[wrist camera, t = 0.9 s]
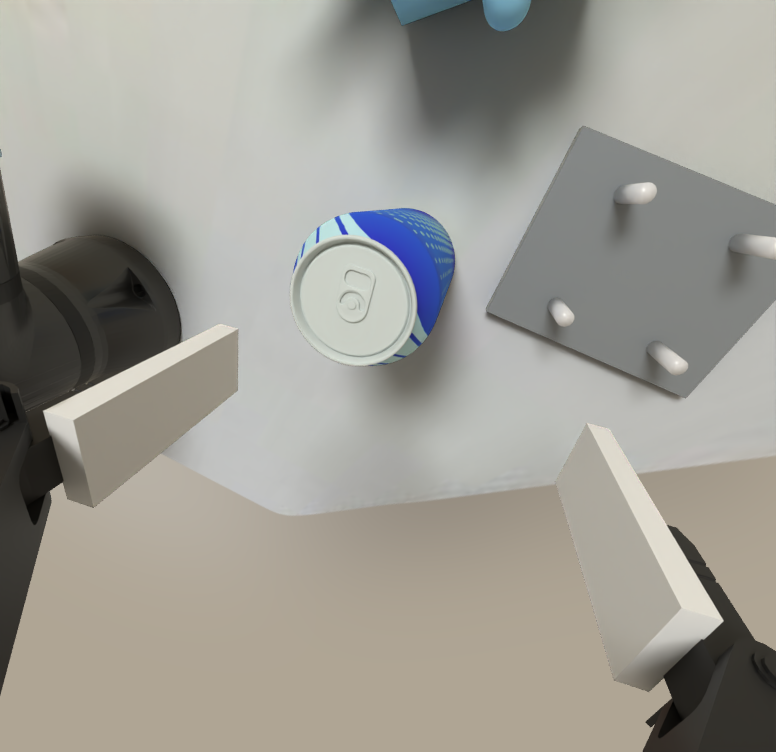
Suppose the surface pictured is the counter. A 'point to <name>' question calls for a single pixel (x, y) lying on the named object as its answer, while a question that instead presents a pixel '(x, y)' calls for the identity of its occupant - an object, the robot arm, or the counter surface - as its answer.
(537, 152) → the counter surface
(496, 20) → the teakettle
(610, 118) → the counter surface
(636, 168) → the pegboard
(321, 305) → the beer can
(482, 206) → the counter surface
